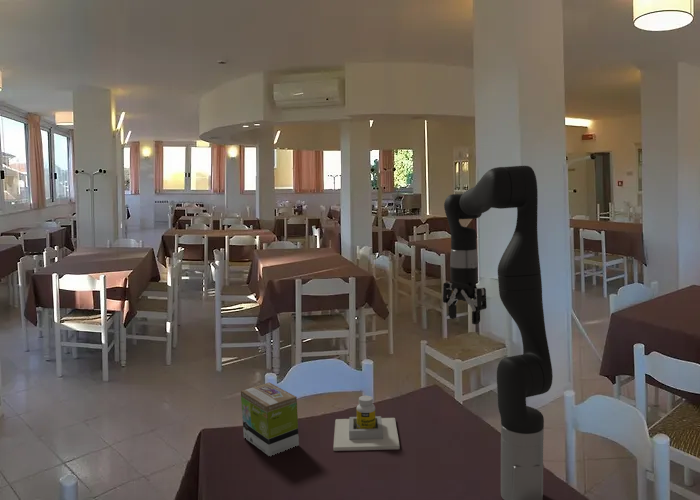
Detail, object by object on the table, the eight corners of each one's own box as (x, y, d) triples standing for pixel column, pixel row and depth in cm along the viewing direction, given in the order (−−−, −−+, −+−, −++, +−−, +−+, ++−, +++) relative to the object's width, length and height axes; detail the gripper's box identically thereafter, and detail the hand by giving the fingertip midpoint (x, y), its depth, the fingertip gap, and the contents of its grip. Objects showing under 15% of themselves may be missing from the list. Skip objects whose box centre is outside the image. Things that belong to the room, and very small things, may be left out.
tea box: (242, 438, 161) (239, 389, 159) (272, 428, 168) (270, 381, 166) (269, 458, 150) (266, 405, 148) (300, 446, 156) (298, 395, 154)
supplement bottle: (360, 436, 158) (359, 402, 157) (354, 428, 163) (353, 395, 162) (378, 433, 160) (377, 400, 158) (372, 425, 165) (371, 393, 163)
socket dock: (399, 449, 152) (399, 437, 152) (333, 450, 152) (333, 438, 152) (394, 420, 170) (394, 409, 170) (335, 422, 170) (335, 411, 170)
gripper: (436, 263, 161) (436, 318, 163) (474, 269, 150) (474, 328, 152) (454, 260, 166) (454, 314, 168) (492, 266, 154) (492, 323, 156)
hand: (464, 321), depth 160 cm, fingers open, 8 cm apart
